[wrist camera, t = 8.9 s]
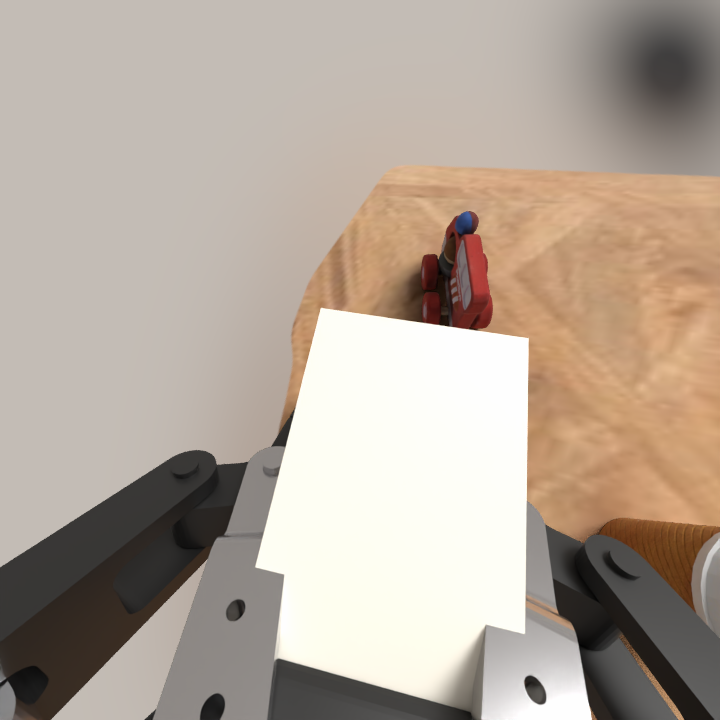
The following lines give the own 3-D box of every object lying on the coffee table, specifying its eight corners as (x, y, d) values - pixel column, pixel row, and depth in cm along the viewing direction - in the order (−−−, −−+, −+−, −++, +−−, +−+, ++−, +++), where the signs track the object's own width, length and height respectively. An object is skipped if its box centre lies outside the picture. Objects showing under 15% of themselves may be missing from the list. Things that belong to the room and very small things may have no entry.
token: (415, 544, 13) (522, 778, 4) (330, 524, 14) (224, 688, 4) (430, 412, 15) (528, 338, 5) (354, 399, 15) (321, 308, 6)
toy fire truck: (473, 255, 37) (508, 182, 27) (483, 346, 33) (529, 299, 23) (418, 256, 37) (433, 184, 27) (422, 345, 33) (441, 300, 24)
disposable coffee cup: (554, 531, 27) (684, 588, 16) (634, 479, 28) (811, 496, 17) (632, 646, 24) (860, 817, 13) (717, 583, 25) (1000, 690, 14)
